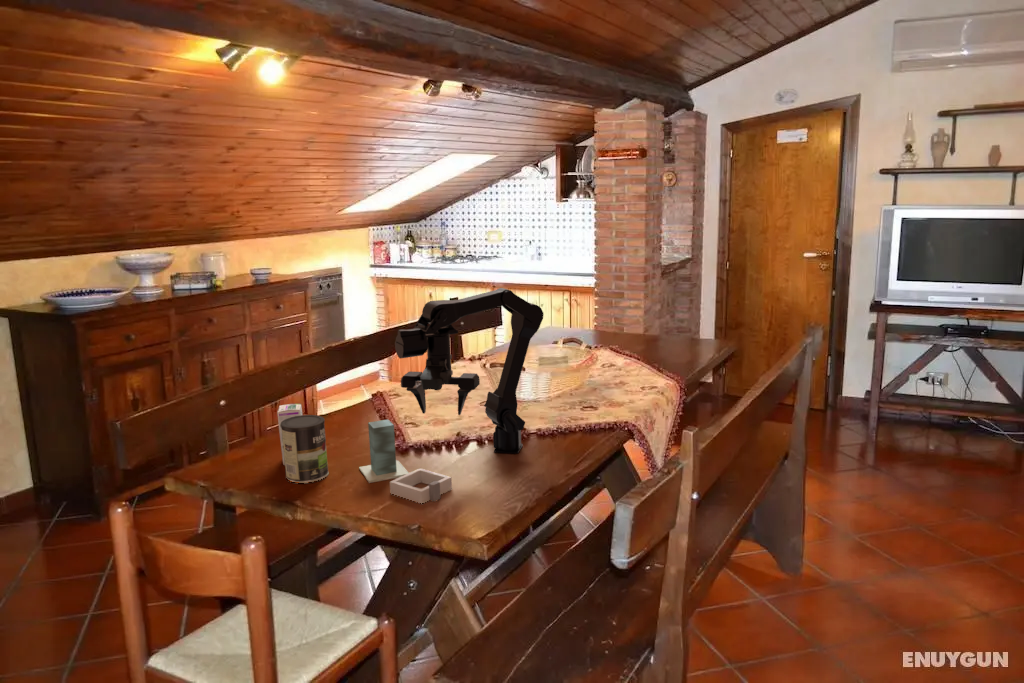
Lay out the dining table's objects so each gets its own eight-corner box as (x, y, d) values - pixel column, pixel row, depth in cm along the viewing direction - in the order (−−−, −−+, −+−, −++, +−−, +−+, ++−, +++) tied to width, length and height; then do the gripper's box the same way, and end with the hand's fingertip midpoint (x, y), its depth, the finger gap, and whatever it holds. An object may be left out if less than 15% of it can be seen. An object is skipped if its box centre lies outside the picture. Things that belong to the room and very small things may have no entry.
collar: (420, 479, 189) (419, 464, 188) (456, 490, 182) (455, 474, 181) (390, 494, 181) (389, 477, 180) (426, 505, 174) (425, 488, 174)
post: (390, 465, 198) (387, 419, 195) (396, 471, 193) (393, 425, 190) (371, 468, 196) (368, 422, 193) (376, 475, 191) (373, 428, 188)
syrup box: (306, 463, 202) (301, 409, 198) (282, 465, 200) (276, 411, 197) (307, 455, 207) (302, 402, 204) (283, 457, 206) (278, 404, 203)
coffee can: (335, 468, 198) (331, 414, 194) (318, 485, 188) (313, 428, 185) (296, 467, 199) (292, 413, 196) (278, 483, 189) (272, 427, 186)
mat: (397, 461, 201) (397, 460, 201) (409, 475, 192) (409, 473, 192) (359, 468, 197) (359, 467, 197) (369, 482, 188) (369, 480, 188)
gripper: (391, 359, 187) (394, 422, 191) (466, 361, 183) (469, 426, 187) (407, 349, 198) (410, 408, 201) (479, 350, 194) (481, 411, 197)
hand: (441, 413), depth 196 cm, fingers open, 9 cm apart
